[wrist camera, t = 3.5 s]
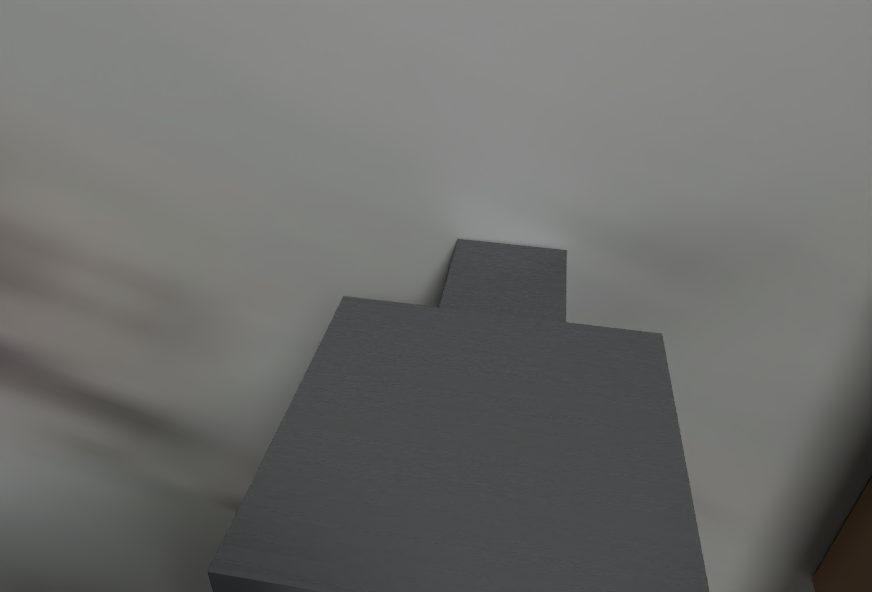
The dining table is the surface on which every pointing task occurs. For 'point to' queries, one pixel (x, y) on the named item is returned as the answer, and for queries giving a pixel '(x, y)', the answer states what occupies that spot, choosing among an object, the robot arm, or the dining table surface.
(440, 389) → the grey block
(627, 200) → the dining table surface
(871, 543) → the rail
